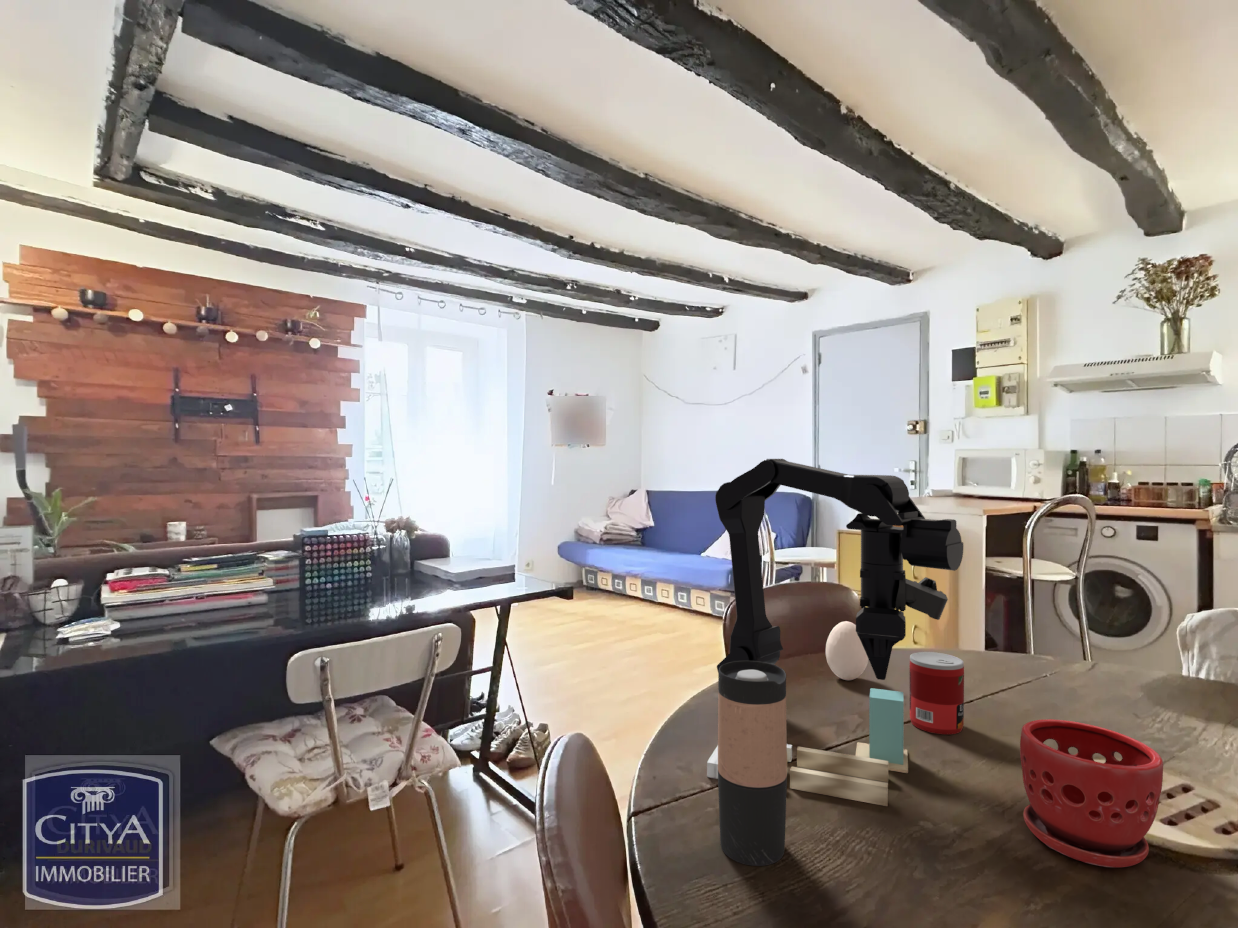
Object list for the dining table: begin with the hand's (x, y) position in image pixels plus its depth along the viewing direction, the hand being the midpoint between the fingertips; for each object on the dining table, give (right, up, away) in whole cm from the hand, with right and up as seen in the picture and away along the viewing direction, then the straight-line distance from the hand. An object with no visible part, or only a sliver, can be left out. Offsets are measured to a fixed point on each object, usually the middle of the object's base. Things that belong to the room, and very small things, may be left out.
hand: (881, 669), depth 97 cm
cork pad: (0, -13, 0) cm, 13 cm away
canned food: (+14, -13, +12) cm, 22 cm away
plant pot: (+15, -14, -21) cm, 29 cm away
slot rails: (-8, -13, -7) cm, 17 cm away
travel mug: (-23, -14, -22) cm, 34 cm away
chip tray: (-20, -13, -3) cm, 24 cm away
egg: (+7, -13, +34) cm, 37 cm away
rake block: (+1, -13, 0) cm, 13 cm away
